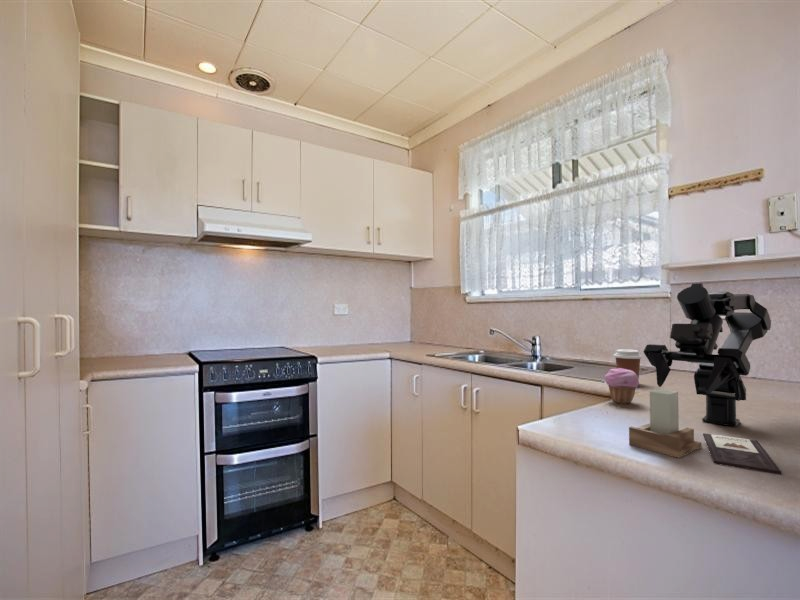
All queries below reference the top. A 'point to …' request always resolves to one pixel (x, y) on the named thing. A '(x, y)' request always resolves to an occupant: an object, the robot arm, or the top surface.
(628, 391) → the cupcake
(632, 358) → the coffee cup
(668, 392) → the pale green rectangular block
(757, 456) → the chocolate bar
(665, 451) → the tray
